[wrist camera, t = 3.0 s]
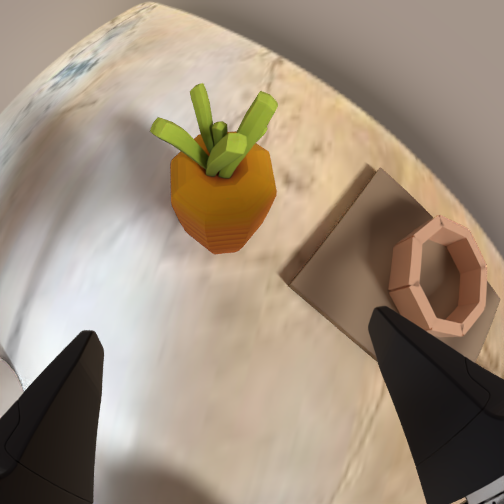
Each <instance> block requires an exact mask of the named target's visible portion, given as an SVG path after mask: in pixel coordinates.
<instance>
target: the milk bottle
mask: <svg viewBox="0 0 504 504" xmlns="http://www.w3.org/2000/svg"><path fill="white" fill-rule="evenodd" d="M23 392H24V391H23V389H22V385H21V383H20V381H19V379H18V377H17V375H16V374H15V372H14V370H13V369H12V368H11V367H10V365H9V364H8V363H7V362H6V361H4V360H3V359H1V358H0V418H1V417H2V416H3V415H4V414H5V413H6V412H7V410H8V409H9V408H10V407H11V406H12V405H13V404H14V403H15V401H16V400H18V398H19V397H20V396H21V395H22V394H23Z"/></svg>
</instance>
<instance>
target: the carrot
mask: <svg viewBox="0 0 504 504" xmlns="http://www.w3.org/2000/svg"><path fill="white" fill-rule="evenodd" d="M190 95H191V100H192V103H193V106H194V110H195V114H196V118H197V121H198V125H199V129H200V133H201V134H200V135H198V136H197V137H196V138H195V139H193V138H192V137H191V136H190V135H189V134H188V133H187V132H186V131H185V130H184V129H183V128H181V127H179V126H178V125H176V124H175V123H173V122H171V121H168V120H165V119H162V118H159V117H158V118H157V119H156V120H155V121H154V123H153V124H152V127H151V130H150V132H151V133H152V134H153V135H155V136H157V137H158V138H160V139H161V140H163V141H165V142H167V143H169V144H171V145H173V146H174V147H176V148H177V149H179V150H180V151H181V152H180V153H179V154H178V155H176V156H175V157H174V158H173V159H172V160H171V164H170V169H171V203H172V207H173V209H174V211H175V213H176V215H177V217H178V219H179V221H180V223H181V225H182V226H183V228H184V230H185V231H186V232H187V233H188V234H189V235H190V236H191V237H193V238H194V239H195V240H196V241H198V242H199V243H200V244H201V245H203V246H204V247H205V248H206V249H208V250H209V251H210V252H212V253H213V254H222V253H232V252H237V251H239V250H240V249H241V248H242V247H243V246H244V245H245V244H246V243H247V241H248V240H249V239H250V238H251V236H252V235H253V234H254V233H255V232H256V230H257V229H258V228H259V227H260V225H261V224H262V223H263V221H264V219H265V217H266V216H267V214H268V212H269V210H270V208H271V206H272V203H273V201H274V199H275V197H276V193H277V191H276V185H275V180H274V175H273V169H272V164H271V159H270V154H269V152H268V151H267V150H265V149H264V148H262V147H261V146H259V145H258V144H256V142H257V141H258V140H259V139H260V138H261V137H262V136H263V135H264V134H265V132H266V131H267V125H268V123H269V121H270V119H271V118H272V116H273V114H274V113H275V111H276V109H277V107H278V104H277V102H276V100H275V99H274V98H273V97H272V96H271V95H270V94H267V93H265V92H262V91H260V92H259V94H258V95H257V97H256V98H255V100H254V102H253V103H252V105H251V106H250V108H249V109H248V111H247V113H246V114H245V116H244V118H243V120H242V122H241V124H240V126H239V128H238V130H237V132H227V124H226V123H224V122H223V121H221V122H216V123H214V125H213V121H212V114H211V108H210V102H209V99H208V95H207V91H206V89H205V86H204V84H203V83H201V84H198V85H196V86H195V87H194V88H193V89H192V90H191V91H190Z"/></svg>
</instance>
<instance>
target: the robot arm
mask: <svg viewBox="0 0 504 504" xmlns="http://www.w3.org/2000/svg"><path fill="white" fill-rule="evenodd" d="M368 331H369V335H370V338H371V341H372V345H373V348H374V351H375V355H376V358H377V362H378V365H379V368H380V371H381V373H382V376H383V378H384V381H385V383H386V386H387V388H388V391H389V393H390V396H391V398H392V401H393V404H394V406H395V409H396V411H397V414H398V417H399V420H400V422H401V425H402V428H403V431H404V433H405V436H406V439H407V442H408V445H409V448H410V451H411V454H412V457H413V460H414V463H415V466H416V469H417V473H418V476H419V479H420V482H421V486H422V489H423V492H424V496H425V499H426V503H427V504H451V503H453V502H455V501H457V500H459V499H462V498H464V497H465V498H466V500H465V501H463V502H462V503H460V504H504V379H502V378H500V377H498V376H496V375H494V374H493V373H491V372H489V371H487V370H486V369H484V368H482V367H481V366H479V365H478V364H476V363H474V362H473V361H471V360H470V359H468V358H467V357H464V355H462V354H461V353H459V352H458V351H456V350H455V349H453V348H452V347H450V346H449V345H447V344H446V343H444V342H442V341H441V340H439V339H438V338H436V337H435V336H433V335H432V334H430V333H429V332H427V331H425V330H424V329H422V328H421V327H419V326H418V325H416V324H414V323H413V322H411V321H410V320H408V319H407V318H405V317H403V316H402V315H400V314H399V313H397V312H396V311H394V310H392V309H391V308H389V307H388V306H379V307H375V308H374V309H373V312H372V315H371V318H370V321H369V324H368ZM103 362H104V349H103V346H102V344H101V342H100V340H99V338H98V336H97V334H96V332H95V331H93V330H84V331H82V332H80V333H79V334H78V335H77V336H76V337H75V338H74V339H73V340H72V341H71V343H70V344H69V345H68V346H67V347H66V348H65V349H64V350H63V351H62V352H61V353H60V354H59V355H58V356H57V357H56V358H55V359H54V360H53V361H52V362H51V363H50V364H49V365H48V366H47V367H46V368H45V370H44V371H43V372H42V373H41V374H40V375H39V376H38V377H37V378H36V379H35V380H34V381H33V383H32V384H31V385H30V386H29V387H28V388H27V389H26V390H25V391H24V392H23V394H22V395H21V396H20V397H19V398H18V400H16V401H15V403H14V404H13V405H12V406H11V407H10V408H9V409H8V410H7V412H6V413H5V414H4V415H3V416H2V417H1V418H0V504H93V487H94V464H95V450H96V438H97V428H98V420H99V412H100V404H101V396H102V378H103Z"/></svg>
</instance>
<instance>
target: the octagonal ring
mask: <svg viewBox="0 0 504 504" xmlns="http://www.w3.org/2000/svg"><path fill="white" fill-rule="evenodd" d="M428 239H429V240H431V241H434V242H436V243H439V244H441V245H444V246H446V247H447V249H448V251H449V253H450V255H451V256H452V258H453V260H454V262H455V264H456V266H457V268H458V270H459V273H460V287H459V300H458V306H457V308H456V309H455V310H454V311H453V312H452V313H451V314H450V315H449V316H448V317H447V318H446V320H443V319H439V318H436V316H435V314H434V312H433V310H432V308H431V305H430V303H429V301H428V299H427V297H426V295H425V293H424V292H423V290H422V288H421V286H420V284H419V282H420V271H421V259H422V244H423V243H424V242H426V241H427V240H428ZM394 246H395V247H393V255H392V264H391V273H390V280H389V288H388V290H390V292H389V294H390V296H391V298H392V300H393V302H394V304H395V305H396V307H397V309H398V311H399V313H400V315H402V316H403V317H405V318H407V319H408V320H410V321H411V322H413V323H414V324H416V325H418V326H419V327H421V328H422V329H424V330H425V331H427V332H429V333H430V334H432V335H433V336H436V337H462V336H464V335H465V334H466V333H467V331H468V330H469V329H470V328H471V326H472V325H473V324H474V323H475V321H476V320H477V319H478V318H479V316H480V315H481V314H482V312H483V311H484V310H485V309H484V307H485V306H486V290H487V267H486V265H487V264H486V262H485V260H484V258H483V256H482V254H481V251H480V249H479V247H478V245H477V243H476V241H475V239H474V237H473V235H472V233H471V232H470V230H468V228H467V227H465V226H462V225H460V224H458V223H456V222H454V221H452V220H450V219H448V218H446V217H444V216H441V215H438V216H436V217H434V218H433V219H431V220H429V221H428V222H426V223H424V224H422V225H421V226H419V227H418V228H416V229H415V230H414V231H413V232H411V233H410V234H409V235H407V236H406V237H405V238H403V239H402V240H401V241H399V242H398V243H397V244H395V245H394Z"/></svg>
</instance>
